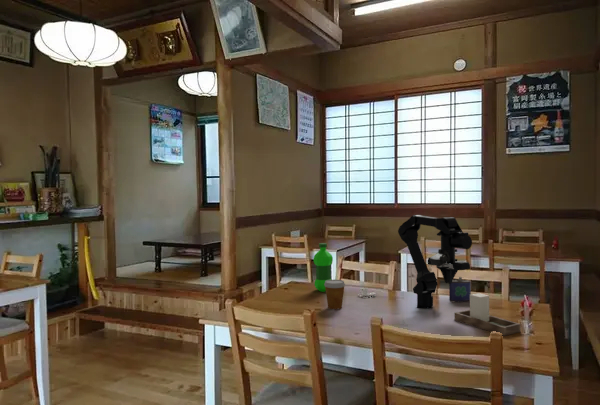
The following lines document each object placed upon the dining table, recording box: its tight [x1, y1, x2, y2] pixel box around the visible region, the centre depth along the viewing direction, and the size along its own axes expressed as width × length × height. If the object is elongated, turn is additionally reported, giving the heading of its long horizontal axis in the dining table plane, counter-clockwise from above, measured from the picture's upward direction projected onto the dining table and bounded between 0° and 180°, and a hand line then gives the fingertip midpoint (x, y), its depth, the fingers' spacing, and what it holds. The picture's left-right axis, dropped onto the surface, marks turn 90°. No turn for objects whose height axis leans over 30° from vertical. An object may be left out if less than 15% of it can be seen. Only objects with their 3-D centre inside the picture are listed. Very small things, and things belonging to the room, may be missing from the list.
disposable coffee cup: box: [324, 279, 346, 310], centre depth 201 cm, size 10×10×12 cm
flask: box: [448, 276, 472, 302], centre depth 209 cm, size 10×3×12 cm, turn 87°
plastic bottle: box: [313, 242, 334, 293], centre depth 235 cm, size 10×10×25 cm
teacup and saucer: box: [359, 287, 376, 299], centre depth 222 cm, size 9×8×4 cm
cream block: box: [469, 292, 490, 321], centre depth 174 cm, size 5×5×10 cm
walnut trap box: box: [453, 309, 522, 337], centre depth 172 cm, size 23×9×3 cm, turn 28°
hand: (448, 283), depth 188 cm, fingers closed
